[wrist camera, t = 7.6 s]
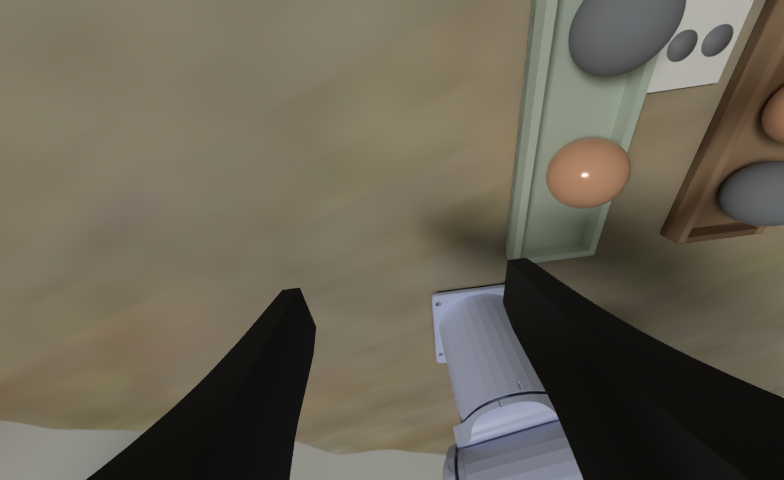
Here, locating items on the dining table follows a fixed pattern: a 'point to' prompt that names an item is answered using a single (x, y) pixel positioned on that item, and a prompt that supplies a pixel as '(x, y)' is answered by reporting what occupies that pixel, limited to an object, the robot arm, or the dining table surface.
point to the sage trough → (595, 114)
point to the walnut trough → (733, 137)
